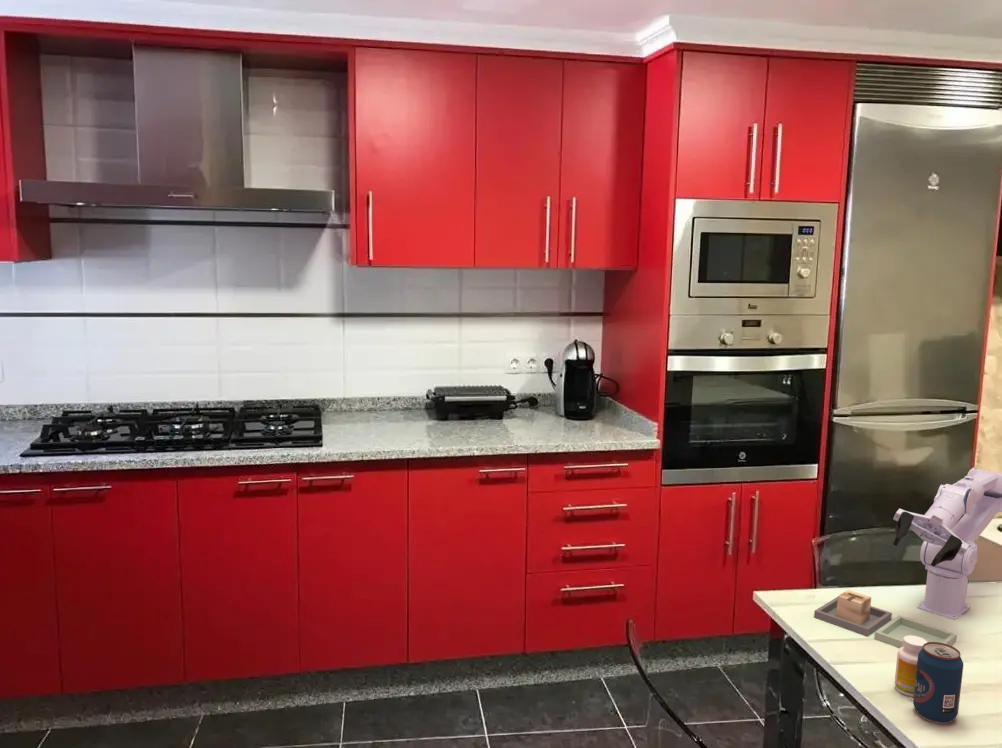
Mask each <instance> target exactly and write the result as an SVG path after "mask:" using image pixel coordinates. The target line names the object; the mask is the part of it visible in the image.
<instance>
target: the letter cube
mask: <svg viewBox="0 0 1002 748" xmlns="http://www.w3.org/2000/svg"><path fill="white" fill-rule="evenodd" d="M837 597H838V600H837V612H836V617H839V618H842V619H845V620H848V621H850V622H853V623H856V624H859V625H861V624H863V623H864V622H865V621H867V620H868V619H869V617H870V606H872V604H871V603H872V596H870V595H866V594H863V593H861V592H857V591H855V590H851V589H847V590H845V591H844V592H842V593H840V594H838V596H837Z"/></svg>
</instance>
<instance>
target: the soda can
mask: <svg viewBox="0 0 1002 748" xmlns="http://www.w3.org/2000/svg"><path fill="white" fill-rule="evenodd" d="M963 672H964V661H963V659H962V656H961V652H960V650H959V649H958V648H956V647H955V646H953V645H952V646H950V645H948V644H944V643H939V642H927V643H925V644H924V645H923V648H922V649H921V651H920V652H919V653H918V660H917V670H916V679H915V689H914V697H913V700H912V701H913V702H912V704H913V707H914V708H915V710H916V712H917V714H918V715H919V716H920V717H921V718H923V719H924V720H926V721H929V722H932V723H936V724H949V723H951V722H952V721H954V720H955V719H956V718H957V717H958V714H959V707H960V698H961V689H962V683H963V682H962V680H963Z"/></svg>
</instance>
